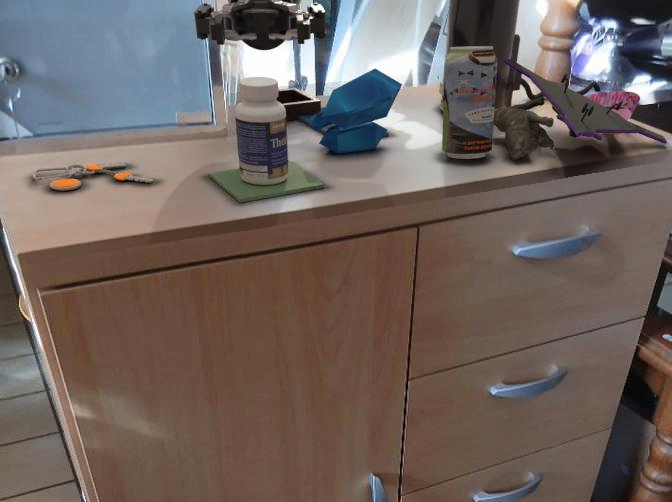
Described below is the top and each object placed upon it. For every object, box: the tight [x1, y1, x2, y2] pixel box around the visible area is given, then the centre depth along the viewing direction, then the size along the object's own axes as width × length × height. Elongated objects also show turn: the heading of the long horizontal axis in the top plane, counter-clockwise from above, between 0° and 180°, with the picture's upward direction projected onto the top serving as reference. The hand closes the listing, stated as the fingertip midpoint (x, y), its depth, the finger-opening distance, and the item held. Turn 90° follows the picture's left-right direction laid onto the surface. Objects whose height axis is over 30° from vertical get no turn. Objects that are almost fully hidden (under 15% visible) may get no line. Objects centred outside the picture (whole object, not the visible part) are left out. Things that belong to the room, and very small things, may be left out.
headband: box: [584, 90, 641, 121], centre depth 100 cm, size 11×4×2 cm
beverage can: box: [441, 46, 497, 160], centre depth 87 cm, size 6×7×12 cm
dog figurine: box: [493, 96, 555, 161], centre depth 91 cm, size 12×6×7 cm
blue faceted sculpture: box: [309, 68, 403, 154], centre depth 90 cm, size 7×9×12 cm
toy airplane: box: [504, 59, 668, 144], centre depth 90 cm, size 23×26×5 cm
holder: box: [277, 87, 322, 122], centre depth 104 cm, size 8×8×2 cm
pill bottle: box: [234, 76, 289, 185], centre depth 79 cm, size 5×5×10 cm
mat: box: [208, 160, 325, 203], centre depth 83 cm, size 10×9×1 cm
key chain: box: [31, 163, 154, 191], centre depth 82 cm, size 13×7×1 cm, turn 106°
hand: (260, 33), depth 78 cm, fingers open, 8 cm apart
